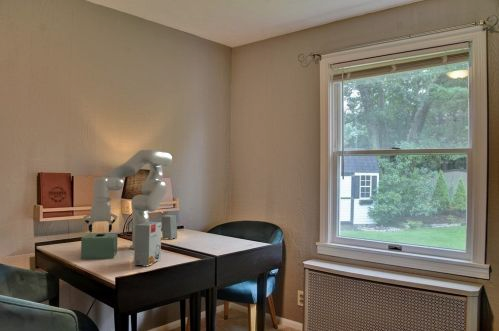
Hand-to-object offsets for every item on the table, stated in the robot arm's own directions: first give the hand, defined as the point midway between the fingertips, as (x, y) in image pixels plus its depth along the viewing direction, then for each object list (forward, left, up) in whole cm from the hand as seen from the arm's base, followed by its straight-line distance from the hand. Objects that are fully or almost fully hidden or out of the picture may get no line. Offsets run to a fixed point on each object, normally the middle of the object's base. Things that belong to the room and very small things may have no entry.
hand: (100, 231), depth 214 cm
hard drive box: (-26, +21, -13) cm, 36 cm away
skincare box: (-37, -49, -13) cm, 63 cm away
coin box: (0, 0, -13) cm, 13 cm away
